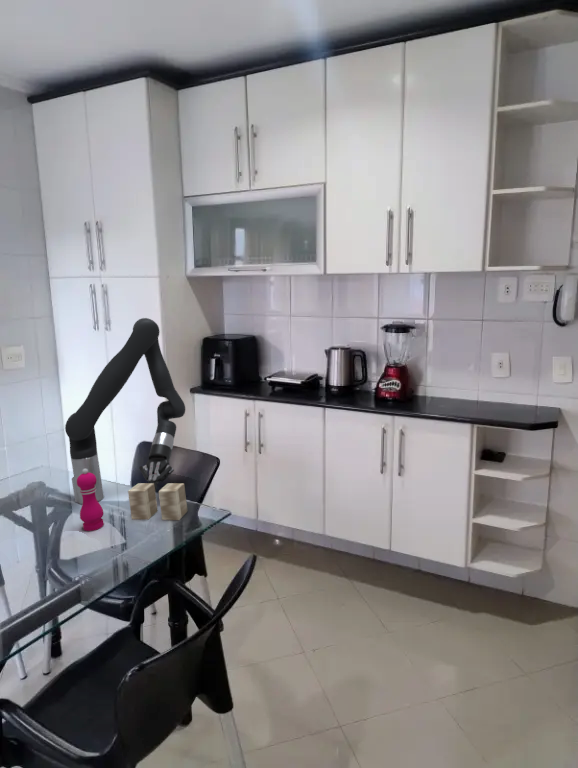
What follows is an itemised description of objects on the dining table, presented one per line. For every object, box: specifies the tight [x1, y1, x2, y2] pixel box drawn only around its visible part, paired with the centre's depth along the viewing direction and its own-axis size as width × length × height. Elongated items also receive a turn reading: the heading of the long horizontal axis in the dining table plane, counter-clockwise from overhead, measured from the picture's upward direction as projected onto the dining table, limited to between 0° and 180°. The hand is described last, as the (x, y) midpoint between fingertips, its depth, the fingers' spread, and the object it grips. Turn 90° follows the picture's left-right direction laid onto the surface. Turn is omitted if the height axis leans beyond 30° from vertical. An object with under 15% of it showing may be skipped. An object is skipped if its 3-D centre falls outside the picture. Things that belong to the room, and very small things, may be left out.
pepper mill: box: [77, 469, 105, 532], centre depth 171 cm, size 7×7×20 cm
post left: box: [127, 482, 159, 521], centre depth 178 cm, size 6×7×10 cm
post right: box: [158, 482, 188, 521], centre depth 175 cm, size 6×7×10 cm
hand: (150, 492), depth 183 cm, fingers closed
